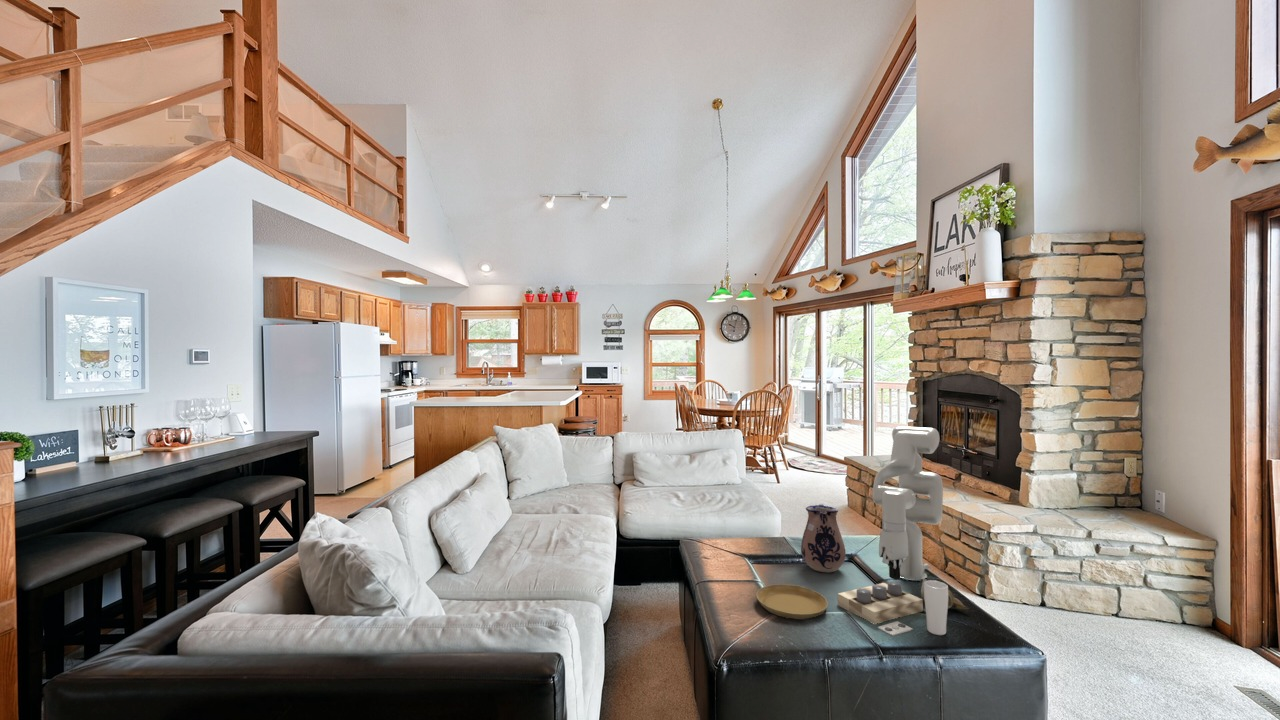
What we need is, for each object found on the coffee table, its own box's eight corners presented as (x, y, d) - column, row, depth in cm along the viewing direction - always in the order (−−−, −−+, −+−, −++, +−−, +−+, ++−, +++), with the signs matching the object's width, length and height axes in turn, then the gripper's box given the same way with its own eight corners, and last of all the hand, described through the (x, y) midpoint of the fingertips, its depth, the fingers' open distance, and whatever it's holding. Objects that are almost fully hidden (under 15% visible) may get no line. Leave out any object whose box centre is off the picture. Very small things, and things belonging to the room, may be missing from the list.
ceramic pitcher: (805, 575, 216) (805, 513, 216) (796, 557, 237) (796, 501, 237) (850, 577, 214) (850, 514, 214) (837, 559, 235) (837, 502, 235)
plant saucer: (839, 607, 188) (839, 597, 188) (806, 630, 171) (806, 620, 171) (778, 587, 205) (778, 578, 205) (743, 607, 188) (743, 597, 188)
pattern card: (897, 622, 176) (897, 620, 176) (912, 629, 171) (912, 628, 171) (877, 628, 172) (877, 626, 172) (892, 635, 167) (892, 633, 167)
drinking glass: (919, 627, 173) (919, 580, 173) (939, 626, 173) (939, 579, 174) (933, 637, 166) (932, 588, 166) (953, 636, 167) (953, 588, 167)
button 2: (893, 594, 193) (893, 580, 193) (905, 599, 189) (904, 585, 189) (884, 596, 191) (884, 582, 191) (895, 601, 187) (895, 587, 187)
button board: (884, 593, 199) (884, 582, 199) (922, 611, 184) (922, 599, 184) (837, 604, 189) (837, 593, 189) (874, 624, 175) (874, 612, 175)
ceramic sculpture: (935, 572, 196) (970, 591, 182) (935, 595, 196) (970, 616, 182) (911, 576, 193) (945, 595, 179) (911, 599, 194) (944, 620, 179)
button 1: (863, 601, 187) (863, 587, 187) (874, 607, 183) (874, 592, 183) (853, 604, 185) (853, 590, 185) (864, 609, 181) (864, 595, 181)
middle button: (878, 597, 190) (878, 584, 190) (889, 603, 186) (889, 589, 186) (869, 600, 188) (869, 586, 188) (880, 605, 184) (880, 591, 184)
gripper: (899, 521, 197) (900, 571, 197) (870, 526, 191) (870, 578, 190) (918, 526, 190) (918, 578, 190) (888, 531, 184) (888, 585, 183)
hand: (894, 578), depth 190 cm, fingers closed
